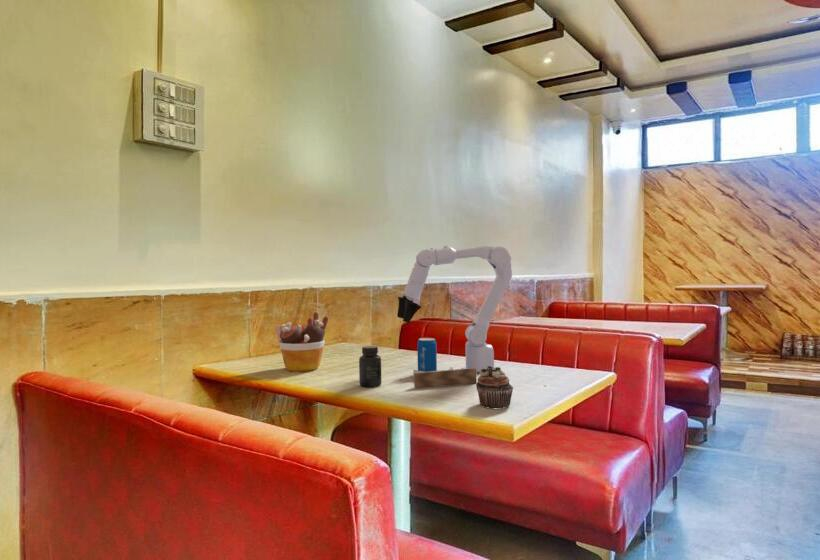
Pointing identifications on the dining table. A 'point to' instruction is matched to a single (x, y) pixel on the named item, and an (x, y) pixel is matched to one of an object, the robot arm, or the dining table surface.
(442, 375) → the caddy
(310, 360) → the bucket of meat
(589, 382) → the dining table surface
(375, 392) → the dining table surface
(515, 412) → the dining table surface
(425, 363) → the beverage can
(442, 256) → the robot arm
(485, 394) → the cupcake
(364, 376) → the supplement bottle
